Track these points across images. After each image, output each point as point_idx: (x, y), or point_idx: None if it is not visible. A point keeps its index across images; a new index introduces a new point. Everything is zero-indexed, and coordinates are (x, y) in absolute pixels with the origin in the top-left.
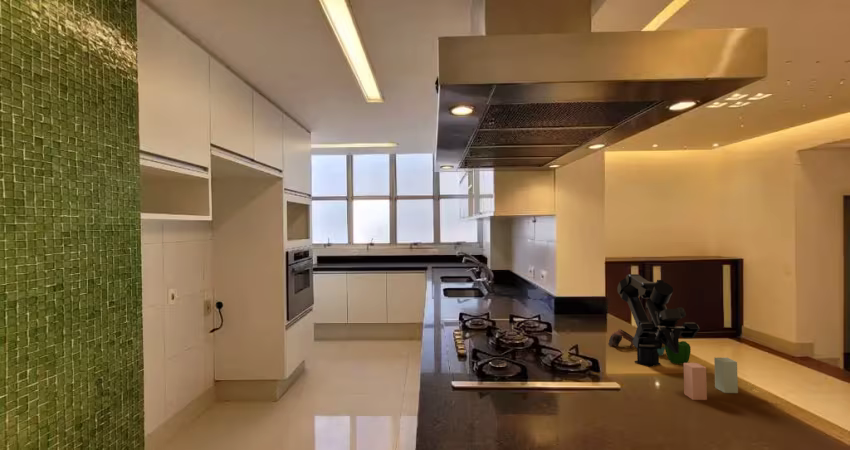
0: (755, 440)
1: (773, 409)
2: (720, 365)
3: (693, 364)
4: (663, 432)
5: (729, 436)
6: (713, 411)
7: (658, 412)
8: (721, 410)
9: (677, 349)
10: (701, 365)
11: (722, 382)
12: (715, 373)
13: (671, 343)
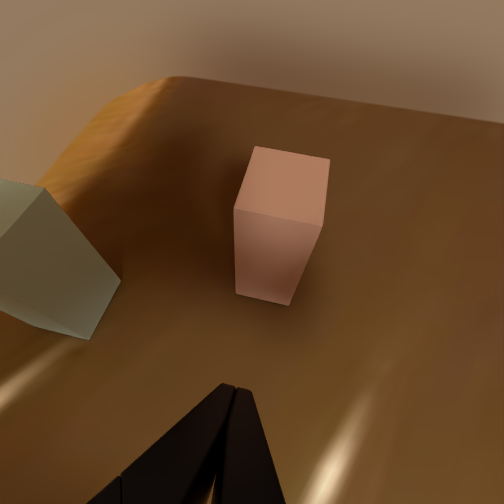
0: (315, 99)
1: (122, 166)
2: (45, 234)
3: (282, 190)
4: (481, 143)
5: (352, 113)
6: None
7: (457, 211)
8: None
9: (223, 399)
10: (249, 171)
11: (98, 271)
12: (51, 311)
13: (272, 495)
